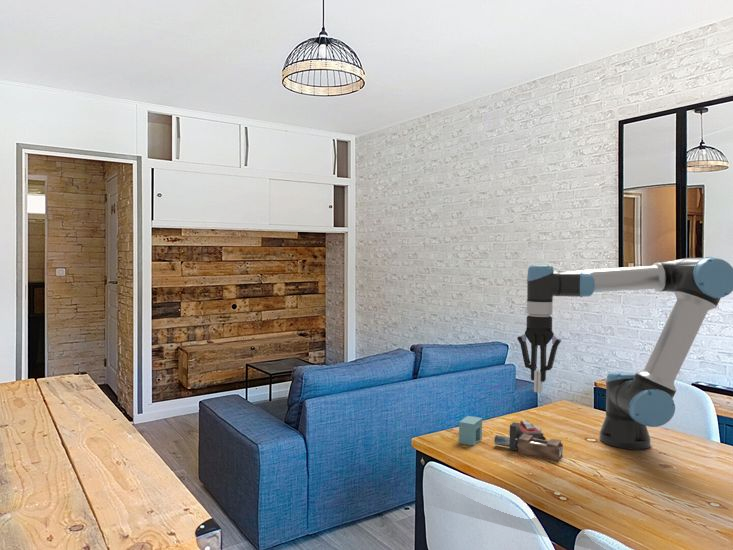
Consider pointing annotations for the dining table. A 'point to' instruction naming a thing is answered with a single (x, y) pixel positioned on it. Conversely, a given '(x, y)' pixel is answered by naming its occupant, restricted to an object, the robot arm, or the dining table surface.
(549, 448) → the sleeve
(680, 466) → the dining table surface
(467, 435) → the socket
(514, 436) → the rod
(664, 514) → the dining table surface
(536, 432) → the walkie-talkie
